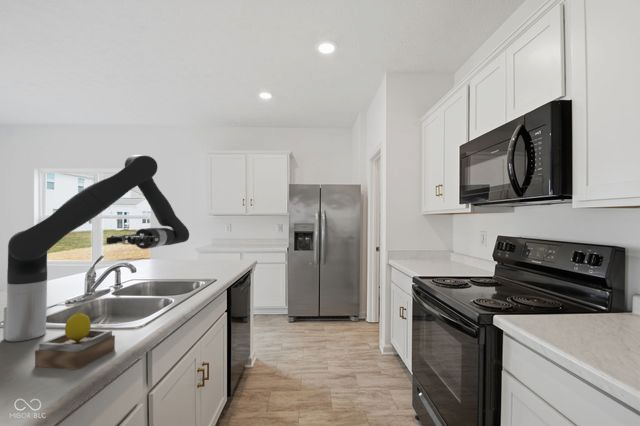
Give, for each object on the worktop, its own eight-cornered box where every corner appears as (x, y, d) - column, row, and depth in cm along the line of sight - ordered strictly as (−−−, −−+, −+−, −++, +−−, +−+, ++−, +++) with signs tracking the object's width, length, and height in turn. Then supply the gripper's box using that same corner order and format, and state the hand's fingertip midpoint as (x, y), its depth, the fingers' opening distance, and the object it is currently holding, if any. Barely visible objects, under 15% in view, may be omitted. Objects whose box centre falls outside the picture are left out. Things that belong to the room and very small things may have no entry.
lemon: (58, 346, 82) (59, 315, 83) (76, 337, 88) (76, 309, 88) (79, 346, 82) (80, 315, 82) (95, 338, 88) (96, 309, 88)
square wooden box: (34, 366, 80) (35, 344, 80) (76, 346, 92) (76, 327, 92) (78, 369, 78) (78, 347, 78) (114, 349, 90) (114, 330, 90)
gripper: (133, 227, 119) (99, 229, 103) (169, 228, 118) (140, 229, 102) (133, 247, 119) (99, 252, 103) (168, 248, 118) (139, 253, 102)
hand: (119, 241), depth 103 cm, fingers open, 8 cm apart
